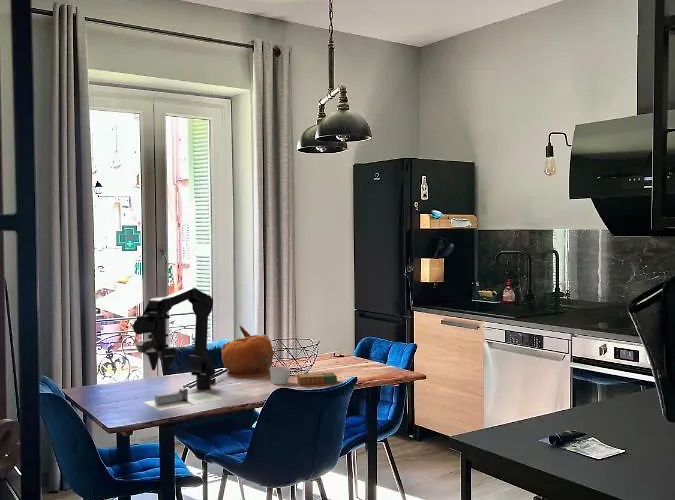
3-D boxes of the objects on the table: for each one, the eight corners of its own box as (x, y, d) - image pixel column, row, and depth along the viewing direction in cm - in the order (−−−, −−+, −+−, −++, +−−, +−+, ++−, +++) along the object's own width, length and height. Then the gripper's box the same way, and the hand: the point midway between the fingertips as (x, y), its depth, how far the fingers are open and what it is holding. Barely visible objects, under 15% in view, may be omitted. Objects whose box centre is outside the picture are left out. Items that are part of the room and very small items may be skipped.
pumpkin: (214, 373, 317) (213, 325, 316) (257, 366, 333) (257, 320, 333) (241, 380, 300) (240, 330, 299) (286, 372, 317) (285, 324, 316)
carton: (297, 383, 296) (297, 373, 296) (333, 381, 299) (332, 371, 299) (300, 387, 288) (300, 377, 288) (337, 385, 291) (337, 375, 291)
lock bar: (185, 398, 263) (185, 388, 263) (189, 400, 260) (189, 389, 260) (154, 403, 255) (154, 393, 255) (158, 405, 253) (157, 394, 252)
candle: (265, 384, 292) (265, 369, 292) (275, 380, 301) (275, 366, 301) (284, 386, 289) (284, 371, 289) (293, 381, 297) (293, 367, 297)
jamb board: (142, 404, 259) (142, 401, 259) (204, 394, 275) (204, 391, 275) (159, 413, 246) (159, 410, 246) (223, 401, 262) (223, 398, 262)
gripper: (128, 330, 262) (128, 371, 262) (149, 335, 248) (149, 378, 248) (155, 328, 269) (155, 367, 269) (177, 333, 255) (177, 374, 255)
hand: (158, 371), depth 260 cm, fingers open, 9 cm apart
